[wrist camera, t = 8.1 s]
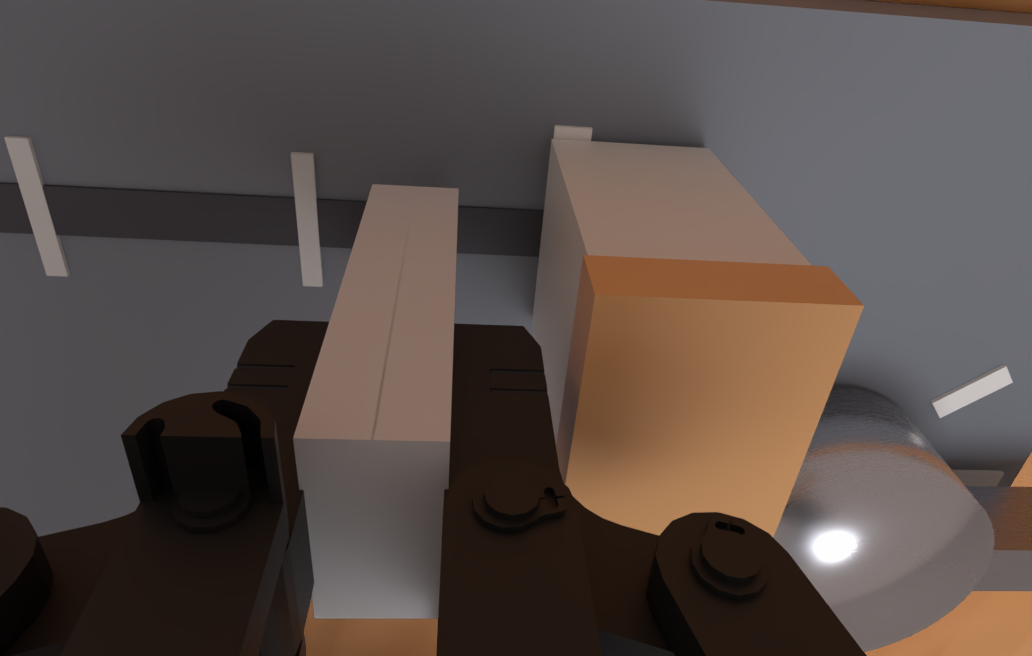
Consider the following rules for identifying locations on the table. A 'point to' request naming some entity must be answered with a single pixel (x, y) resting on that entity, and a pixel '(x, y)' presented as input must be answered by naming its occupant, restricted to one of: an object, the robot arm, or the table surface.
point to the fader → (678, 336)
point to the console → (484, 187)
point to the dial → (897, 524)
